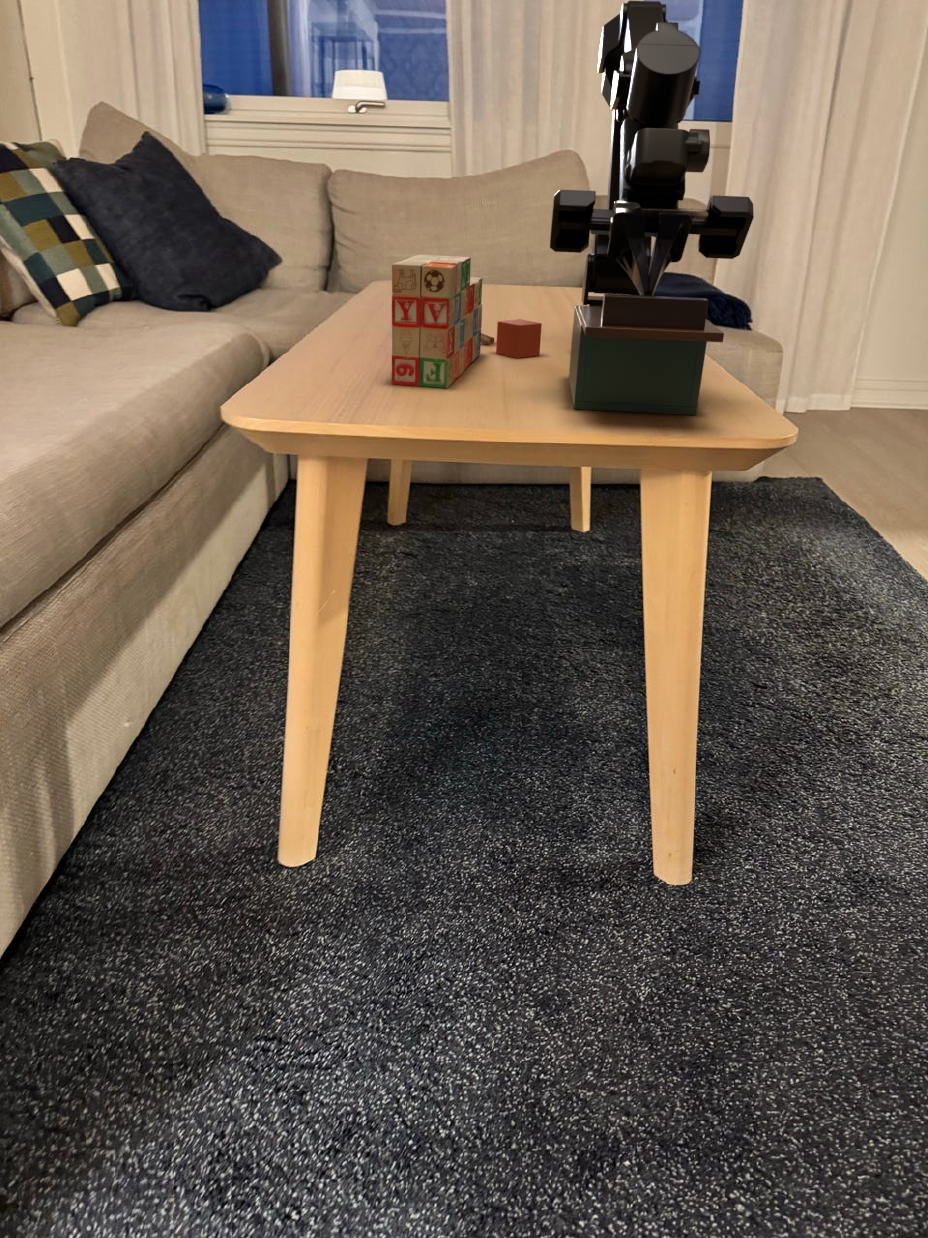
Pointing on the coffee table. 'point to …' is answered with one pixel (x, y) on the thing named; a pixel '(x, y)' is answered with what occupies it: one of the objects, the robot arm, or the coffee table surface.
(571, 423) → the coffee table surface
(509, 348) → the block
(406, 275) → the stack of blocks
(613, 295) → the lid
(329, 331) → the coffee table surface
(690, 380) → the box
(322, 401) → the coffee table surface
